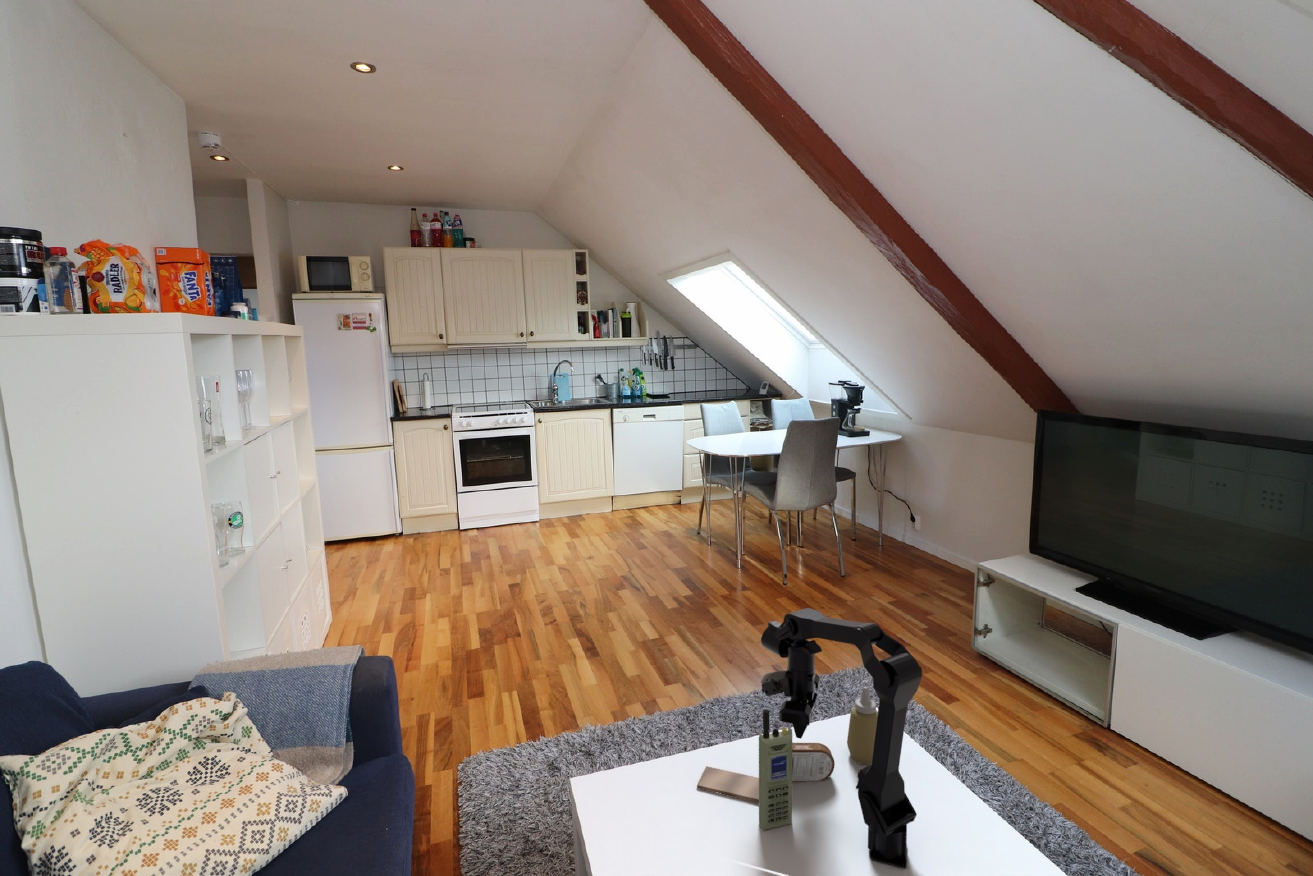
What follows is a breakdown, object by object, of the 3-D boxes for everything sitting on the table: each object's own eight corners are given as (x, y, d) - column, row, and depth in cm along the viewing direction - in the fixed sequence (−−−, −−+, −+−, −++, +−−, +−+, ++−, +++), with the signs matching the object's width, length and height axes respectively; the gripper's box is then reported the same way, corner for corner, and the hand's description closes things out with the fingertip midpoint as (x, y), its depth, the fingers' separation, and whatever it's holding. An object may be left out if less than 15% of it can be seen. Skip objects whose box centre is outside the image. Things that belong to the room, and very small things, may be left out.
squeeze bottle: (887, 771, 145) (889, 696, 143) (852, 771, 145) (853, 697, 143) (875, 749, 153) (877, 679, 151) (842, 750, 153) (843, 679, 151)
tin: (830, 775, 144) (832, 740, 143) (835, 784, 141) (837, 748, 140) (765, 776, 143) (767, 741, 142) (768, 785, 140) (770, 749, 139)
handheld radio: (763, 833, 126) (763, 716, 124) (757, 822, 130) (756, 707, 127) (794, 826, 128) (794, 710, 125) (786, 815, 131) (786, 702, 129)
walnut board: (775, 786, 140) (775, 781, 140) (768, 807, 134) (768, 801, 134) (706, 771, 146) (706, 766, 146) (697, 790, 140) (696, 785, 140)
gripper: (772, 643, 150) (772, 704, 152) (755, 679, 133) (755, 749, 135) (820, 650, 146) (819, 713, 148) (809, 688, 129) (808, 760, 131)
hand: (800, 732), depth 141 cm, fingers open, 4 cm apart
